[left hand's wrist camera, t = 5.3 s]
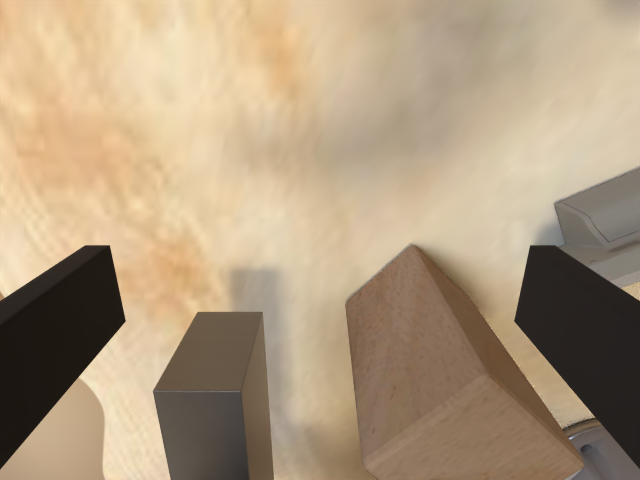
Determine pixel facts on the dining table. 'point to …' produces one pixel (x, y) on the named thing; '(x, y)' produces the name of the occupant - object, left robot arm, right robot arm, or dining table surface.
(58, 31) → the dining table surface
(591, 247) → the digital clock
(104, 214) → the dining table surface
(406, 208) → the dining table surface
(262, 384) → the bar
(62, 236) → the dining table surface
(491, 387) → the wooden block
